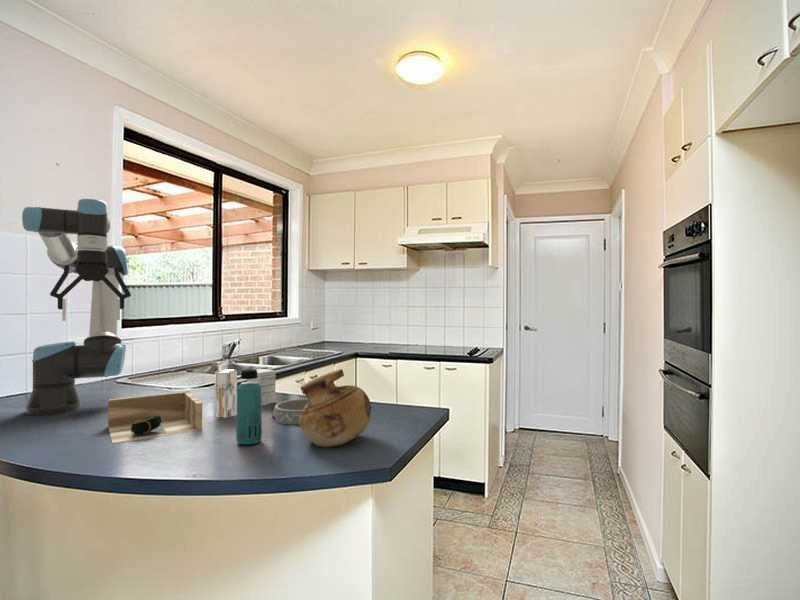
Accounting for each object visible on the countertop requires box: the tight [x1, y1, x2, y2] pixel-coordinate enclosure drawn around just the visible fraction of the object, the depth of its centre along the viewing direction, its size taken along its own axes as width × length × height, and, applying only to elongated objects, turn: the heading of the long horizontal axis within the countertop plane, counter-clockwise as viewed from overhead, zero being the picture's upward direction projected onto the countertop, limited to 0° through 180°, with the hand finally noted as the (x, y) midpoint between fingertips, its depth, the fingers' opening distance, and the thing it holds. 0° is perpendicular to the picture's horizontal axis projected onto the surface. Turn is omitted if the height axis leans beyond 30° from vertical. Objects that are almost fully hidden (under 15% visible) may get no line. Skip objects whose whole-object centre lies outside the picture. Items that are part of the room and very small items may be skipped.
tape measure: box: [131, 416, 161, 434], centre depth 126 cm, size 7×7×4 cm
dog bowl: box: [272, 398, 309, 425], centre depth 144 cm, size 17×18×5 cm
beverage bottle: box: [235, 368, 263, 445], centre depth 118 cm, size 6×7×20 cm
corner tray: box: [107, 390, 203, 444], centre depth 132 cm, size 20×22×8 cm
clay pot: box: [298, 369, 372, 448], centre depth 119 cm, size 19×19×20 cm
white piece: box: [214, 369, 238, 418], centre depth 147 cm, size 7×7×15 cm
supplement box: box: [246, 368, 277, 407], centre depth 164 cm, size 7×7×13 cm
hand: (91, 320), depth 137 cm, fingers open, 13 cm apart
